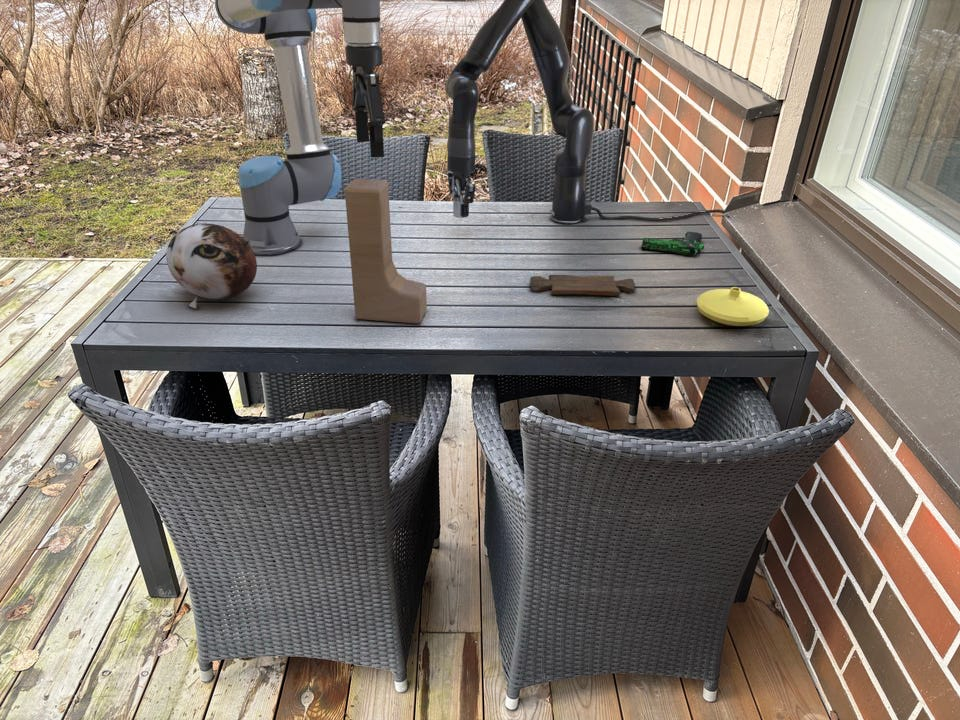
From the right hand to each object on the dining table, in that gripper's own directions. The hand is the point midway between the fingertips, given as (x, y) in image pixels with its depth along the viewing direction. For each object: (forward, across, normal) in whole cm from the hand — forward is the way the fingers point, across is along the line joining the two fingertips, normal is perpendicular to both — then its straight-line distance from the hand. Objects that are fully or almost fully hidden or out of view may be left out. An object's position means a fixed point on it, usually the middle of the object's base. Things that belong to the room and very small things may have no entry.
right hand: (461, 213), depth 202 cm
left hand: (-27, +24, -33) cm, 49 cm away
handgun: (+6, +32, +51) cm, 61 cm away
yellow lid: (+6, +72, +35) cm, 80 cm away
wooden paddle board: (+7, +44, +12) cm, 47 cm away
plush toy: (+7, +13, -69) cm, 71 cm away
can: (0, 0, 0) cm, 0 cm away
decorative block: (+7, +39, -35) cm, 53 cm away
